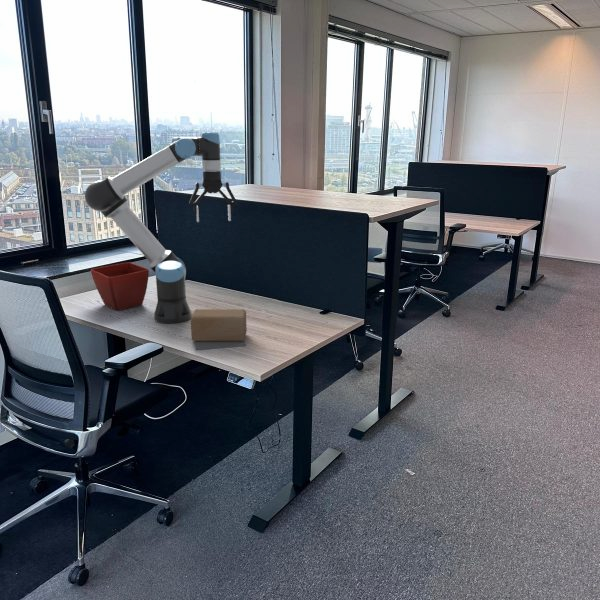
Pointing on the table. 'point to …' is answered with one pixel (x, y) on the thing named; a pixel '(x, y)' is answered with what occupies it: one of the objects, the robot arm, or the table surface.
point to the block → (218, 325)
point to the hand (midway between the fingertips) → (213, 220)
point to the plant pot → (121, 284)
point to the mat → (217, 344)
